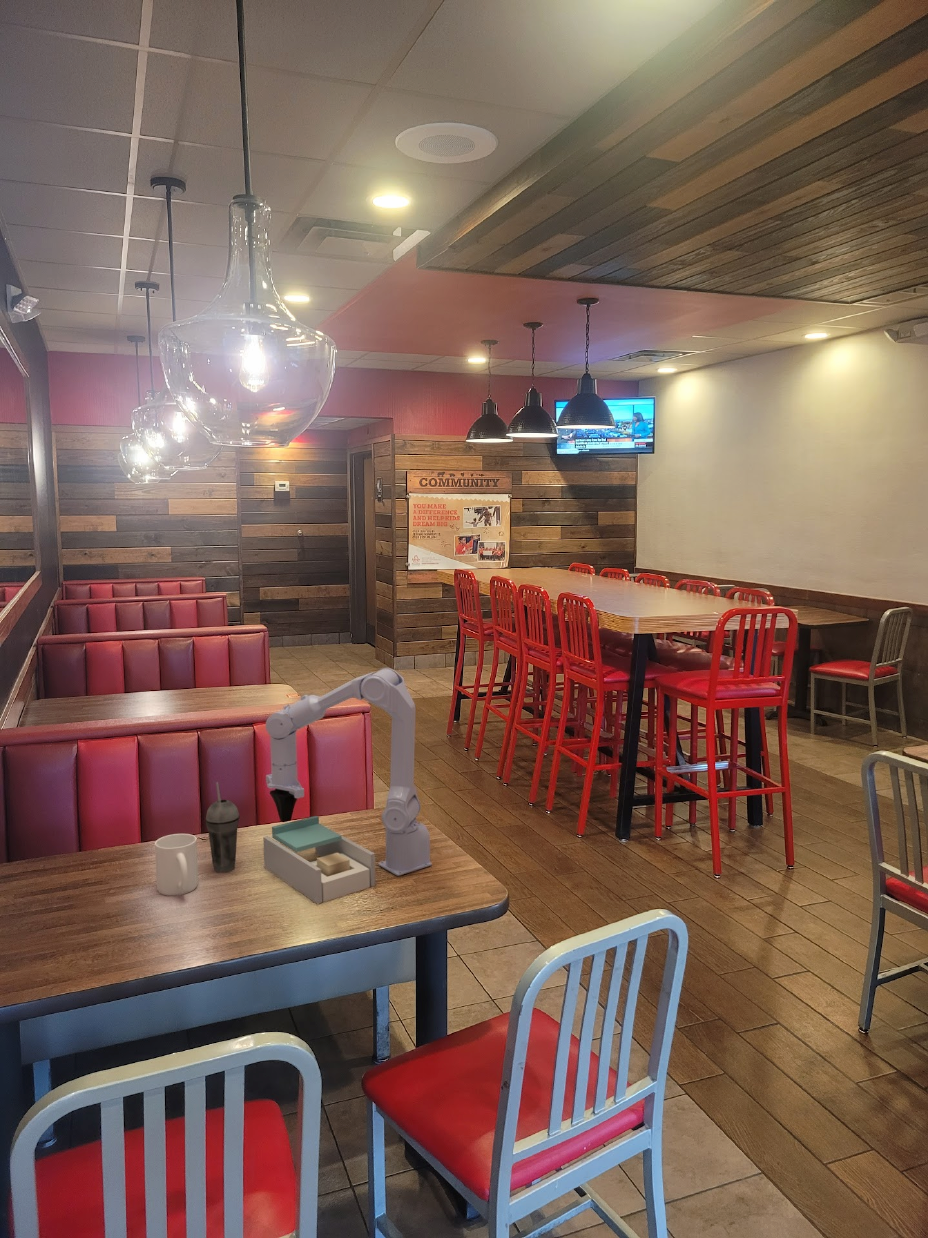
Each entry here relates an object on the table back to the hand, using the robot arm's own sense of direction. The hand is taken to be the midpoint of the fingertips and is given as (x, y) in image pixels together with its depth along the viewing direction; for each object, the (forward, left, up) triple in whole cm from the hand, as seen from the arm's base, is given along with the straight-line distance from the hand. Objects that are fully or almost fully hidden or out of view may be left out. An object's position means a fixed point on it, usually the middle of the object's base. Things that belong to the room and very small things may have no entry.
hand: (285, 820), depth 197 cm
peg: (0, +21, -8) cm, 22 cm away
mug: (+26, +3, -9) cm, 28 cm away
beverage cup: (+14, -2, -9) cm, 17 cm away
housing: (0, +14, -8) cm, 17 cm away
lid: (0, +10, -1) cm, 10 cm away
